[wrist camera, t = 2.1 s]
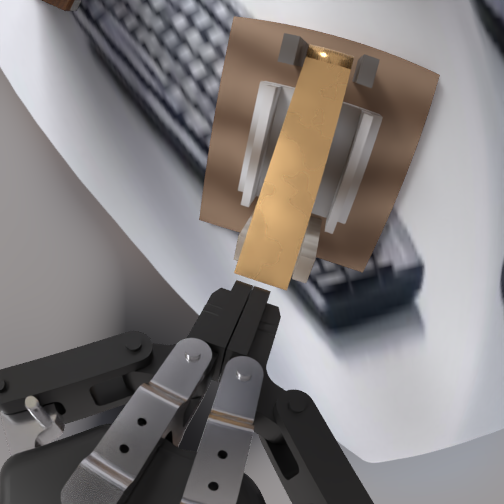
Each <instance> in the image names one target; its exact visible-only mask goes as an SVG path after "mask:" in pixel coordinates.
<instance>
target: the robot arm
mask: <svg viewBox="0 0 504 504" xmlns="http://www.w3.org/2000/svg"><path fill="white" fill-rule="evenodd" d="M252 289H253V290H252ZM269 295H270V291H268V290H265V289H262V288H259V287H256V286H254V287H253V286H252V285H249V284H246V283H243V282H241V281H238V280H237V281H236V282H235V284H234V286H233V288H232V290H231V291H229V290H226V289H223V288H220V289H218V290H217V291H215V292H214V293H212V295H211V296H210V298H209V300H208V302H207V304H206V305H205V307H204V309H203V311H202V312H201V314H200V316H199V317H198V319H197V321H196V323H195V324H194V326H193V328H192V330H191V332H190V333H189V335H188V337H187V338H186V339H184V340H181V341H180V342H178V343H177V344H174V345H162V344H154V343H152V342H151V340H150V338H149V337H148V336H147V335H146V334H144V333H141V332H138V331H129V332H125V333H122V334H119V335H116V336H113V337H109V338H107V339H103V340H100V341H97V342H93V343H90V344H87V345H84V346H81V347H77V348H74V349H71V350H67V351H64V352H61V353H57V354H54V355H50V356H47V357H44V358H40V359H37V360H33V361H30V362H26V363H23V364H19V365H16V366H12V367H8V368H5V369H1V370H0V415H1V419H2V424H3V428H4V432H5V436H6V440H7V444H8V447H9V451H10V454H11V457H10V458H9V459H7V461H6V462H5V463H4V465H3V467H2V469H1V472H0V504H266V503H265V501H264V498H263V496H262V494H261V492H260V490H259V489H258V487H257V486H256V484H255V483H254V481H253V480H252V479H251V478H250V477H249V476H248V475H246V474H245V473H244V469H245V465H246V461H247V457H248V453H249V449H250V444H251V440H252V436H253V431H254V432H256V433H257V434H259V438H260V440H261V442H262V444H263V446H264V449H265V450H266V453H267V455H268V457H269V459H270V461H271V463H272V465H273V467H274V469H275V471H276V473H277V475H278V477H279V478H280V481H281V483H282V485H283V486H284V489H285V490H286V492H287V494H288V496H289V498H290V500H291V502H292V504H374V503H373V501H372V500H371V498H370V496H369V495H368V493H367V491H366V490H365V488H364V486H363V485H362V483H361V481H360V480H359V478H358V476H357V475H356V473H355V471H354V470H353V468H352V466H351V465H350V463H349V461H348V460H347V458H346V456H345V455H344V453H343V451H342V449H341V448H340V446H339V444H338V443H337V441H336V439H335V438H334V436H333V434H332V432H331V431H330V429H329V427H328V426H327V424H326V422H325V421H324V419H323V417H322V415H321V414H320V412H319V410H318V408H317V407H316V405H315V403H314V402H313V400H312V399H311V397H310V396H309V395H307V394H306V393H304V392H302V391H299V390H288V391H285V390H283V389H282V388H280V387H279V386H277V385H276V384H275V383H274V382H273V381H272V380H271V379H270V378H269V376H268V374H267V370H266V365H267V361H268V358H269V354H270V351H271V348H272V345H273V341H274V338H275V335H276V331H277V328H278V325H279V321H280V318H281V316H280V312H279V307H277V306H274V305H271V304H268V303H267V301H268V298H269ZM220 375H221V376H220ZM219 377H220V380H219V382H220V385H219V388H218V391H217V394H216V398H215V401H214V404H213V407H212V410H211V412H210V415H209V417H208V421H207V423H206V427H205V430H204V433H203V436H202V439H201V442H200V445H199V448H198V451H197V452H195V451H188V450H182V449H180V448H178V446H179V444H180V442H181V439H182V437H183V434H184V432H185V429H186V428H187V426H188V424H189V422H190V421H191V419H192V417H193V415H194V414H195V412H196V410H197V408H198V406H199V405H200V403H201V401H202V399H203V397H204V396H205V393H206V391H207V389H208V387H209V385H210V383H211V380H214V381H218V379H219ZM126 403H127V404H126ZM123 404H126V406H125V407H124V409H123V410H122V412H121V413H120V414H119V416H118V417H117V418H116V420H115V421H114V423H113V424H105V425H100V426H97V427H94V428H92V429H89V430H86V431H84V432H81V433H78V434H75V435H72V436H70V437H67V438H64V439H61V440H58V441H55V442H52V443H50V442H51V441H53V440H55V439H57V438H58V437H60V436H61V435H62V433H63V431H64V428H65V424H67V423H70V422H73V421H76V420H79V419H83V418H86V417H88V416H92V415H95V414H97V413H101V412H104V411H106V410H109V409H112V408H115V407H118V406H121V405H123Z"/></svg>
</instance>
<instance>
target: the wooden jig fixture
mask: <svg viewBox="0 0 504 504" xmlns="http://www.w3.org/2000/svg"><path fill="white" fill-rule="evenodd" d="M310 44H312V45H316V46H320V47H324V48H328V49H331V50H335V51H338V52H342V53H345V54H348V55H352V56H354V60H353V64H352V68H351V71H350V75H349V79H348V83H347V87H346V91H345V95H344V99H343V103H342V107H341V111H340V114H339V118H338V122H337V126H336V129H335V133H334V137H333V140H332V144H331V147H330V151H329V155H328V158H327V162H326V165H325V169H324V172H323V175H322V179H321V182H320V186H319V189H318V192H317V196H316V199H315V203H314V206H313V209H312V212H311V216H310V219H309V222H308V225H307V229H306V232H305V235H304V238H303V241H302V245H301V248H300V251H299V254H298V257H297V260H296V263H295V266H294V270H293V273H292V274H293V277H292V279H294V280H297V281H300V282H303V283H306V282H307V280H308V277H309V275H310V272H311V270H312V267H313V264H314V262H315V258H316V257H317V258H320V259H323V260H326V261H329V262H333V263H336V264H339V265H342V266H345V267H348V268H351V269H354V270H357V271H360V272H363V271H364V269H365V267H366V265H367V262H368V260H369V258H370V256H371V254H372V252H373V250H374V248H375V246H376V244H377V241H378V239H379V237H380V235H381V233H382V230H383V228H384V226H385V224H386V222H387V219H388V217H389V215H390V212H391V210H392V208H393V205H394V203H395V201H396V198H397V196H398V193H399V191H400V189H401V186H402V184H403V181H404V179H405V176H406V174H407V171H408V168H409V166H410V163H411V161H412V158H413V155H414V153H415V150H416V147H417V144H418V142H419V139H420V136H421V133H422V130H423V127H424V124H425V121H426V118H427V115H428V112H429V109H430V106H431V103H432V100H433V96H434V93H435V90H436V86H437V83H438V79H439V76H440V75H439V74H437V73H435V72H432V71H430V70H428V69H426V68H424V67H421V66H419V65H417V64H414V63H412V62H410V61H407V60H405V59H402V58H400V57H397V56H395V55H392V54H389V53H387V52H384V51H381V50H378V49H375V48H373V47H370V46H367V45H364V44H360V43H357V42H354V41H351V40H348V39H344V38H341V37H337V36H334V35H330V34H326V33H322V32H318V31H314V30H310V29H306V28H301V27H296V26H292V25H287V24H281V23H276V22H270V21H264V20H258V19H251V18H243V17H235V16H234V18H233V23H232V27H231V32H230V37H229V42H228V46H227V51H226V56H225V61H224V66H223V72H222V77H221V82H220V88H219V93H218V99H217V104H216V110H215V116H214V122H213V128H212V134H211V140H210V147H209V153H208V160H207V166H206V173H205V180H204V188H203V195H202V202H201V210H200V218H199V220H201V221H205V222H208V223H211V224H214V225H217V226H221V227H224V228H227V229H230V230H233V231H236V232H240V234H239V236H238V241H237V246H236V251H235V255H234V260H236V261H238V260H239V257H240V253H241V250H242V247H243V244H244V241H245V238H246V235H247V232H248V229H249V226H250V223H251V220H252V217H253V213H254V210H255V207H256V204H257V201H258V198H259V195H260V192H261V189H262V186H263V183H264V180H265V177H266V174H267V171H268V168H269V165H270V162H271V159H272V156H273V153H274V150H275V147H276V144H277V141H278V138H279V135H280V132H281V129H282V126H283V123H284V120H285V117H286V114H287V111H288V108H289V105H290V102H291V99H292V96H293V93H294V90H295V87H296V84H297V81H298V78H299V76H300V73H301V70H302V67H303V64H304V61H305V58H306V54H307V50H308V47H309V45H310Z"/></svg>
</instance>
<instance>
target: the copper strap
mask: <svg viewBox="0 0 504 504" xmlns="http://www.w3.org/2000/svg"><path fill="white" fill-rule="evenodd" d="M353 60H354V56H352V55H348V54H345V53H342V52H338V51H335V50H331V49H328V48H324V47H320V46H316V45H312V44H310V45H309V47H308V50H307V54H306V58H305V61H304V64H303V67H302V70H301V73H300V76H299V78H298V81H297V84H296V87H295V90H294V93H293V96H292V99H291V102H290V105H289V108H288V111H287V114H286V117H285V120H284V123H283V126H282V129H281V132H280V135H279V138H278V141H277V144H276V147H275V150H274V153H273V156H272V159H271V162H270V165H269V168H268V171H267V174H266V177H265V180H264V183H263V186H262V189H261V192H260V195H259V198H258V201H257V204H256V207H255V210H254V213H253V217H252V220H251V223H250V226H249V229H248V232H247V235H246V238H245V241H244V244H243V247H242V250H241V253H240V257H239V260H238V263H237V266H236V269H235V272H234V273H235V274H238V275H241V276H244V277H247V278H250V279H253V280H256V281H259V282H262V283H265V284H269V285H272V286H275V287H278V288H281V289H284V290H287V288H288V285H289V282H290V279H291V276H292V273H293V270H294V266H295V263H296V260H297V257H298V254H299V251H300V248H301V245H302V241H303V238H304V235H305V232H306V229H307V225H308V222H309V219H310V216H311V212H312V209H313V206H314V203H315V199H316V196H317V192H318V189H319V186H320V182H321V179H322V175H323V172H324V169H325V165H326V162H327V158H328V155H329V151H330V147H331V144H332V140H333V137H334V133H335V129H336V126H337V122H338V118H339V114H340V111H341V107H342V103H343V99H344V95H345V91H346V87H347V83H348V79H349V75H350V71H351V68H352V64H353Z"/></svg>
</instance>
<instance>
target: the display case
mask: <svg viewBox="0 0 504 504" xmlns="http://www.w3.org/2000/svg"><path fill="white" fill-rule="evenodd" d="M42 1H44V2H46V3H49V4H51V5H53V6H55V7H58V8H60V9H62V10H64V11H77V8H78V6H79V4H80V2H81V0H42Z"/></svg>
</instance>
